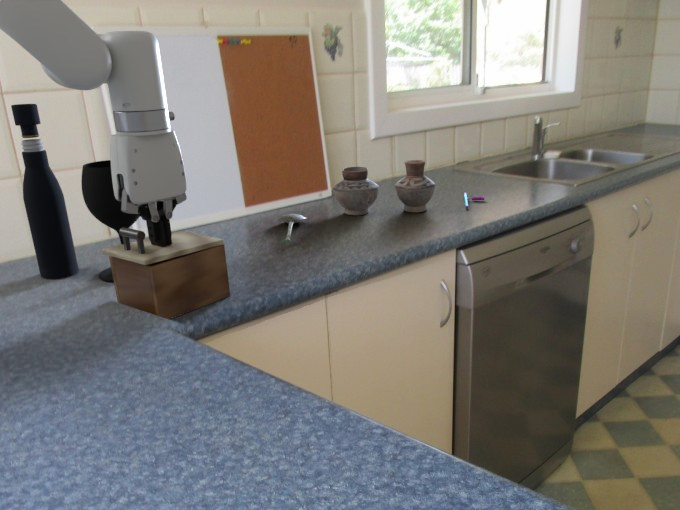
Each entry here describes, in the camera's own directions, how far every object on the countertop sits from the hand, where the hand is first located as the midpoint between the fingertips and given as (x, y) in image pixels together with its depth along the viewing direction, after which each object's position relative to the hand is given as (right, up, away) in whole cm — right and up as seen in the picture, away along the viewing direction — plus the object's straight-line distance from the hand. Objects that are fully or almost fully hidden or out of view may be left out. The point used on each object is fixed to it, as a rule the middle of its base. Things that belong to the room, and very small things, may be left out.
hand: (161, 244), depth 103 cm
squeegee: (+56, +17, +68) cm, 90 cm away
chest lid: (0, -1, +1) cm, 1 cm away
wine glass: (-13, -4, +19) cm, 23 cm away
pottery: (+33, +13, +60) cm, 70 cm away
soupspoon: (+13, +6, +43) cm, 45 cm away
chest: (+1, -9, +4) cm, 10 cm away
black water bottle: (-26, -4, +20) cm, 33 cm away
